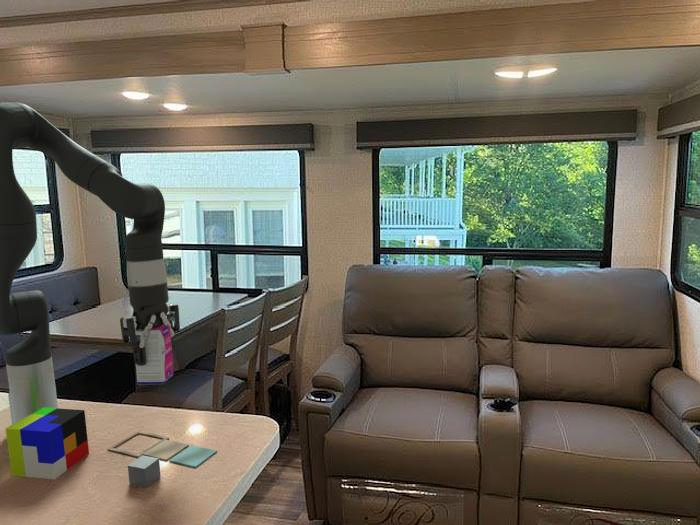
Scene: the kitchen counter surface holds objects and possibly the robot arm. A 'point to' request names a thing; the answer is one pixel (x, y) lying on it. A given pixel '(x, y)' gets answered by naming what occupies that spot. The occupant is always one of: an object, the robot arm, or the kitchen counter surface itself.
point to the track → (170, 451)
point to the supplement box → (156, 357)
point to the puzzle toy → (47, 442)
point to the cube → (144, 471)
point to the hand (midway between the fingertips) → (155, 359)
